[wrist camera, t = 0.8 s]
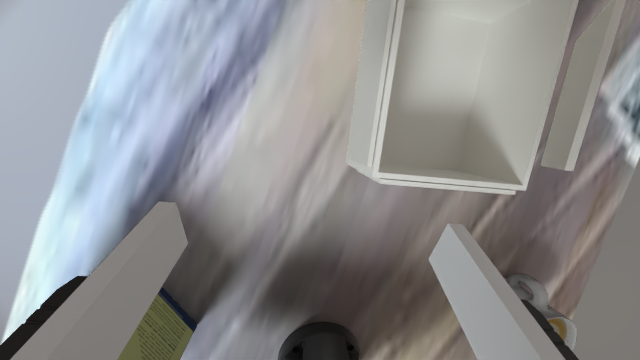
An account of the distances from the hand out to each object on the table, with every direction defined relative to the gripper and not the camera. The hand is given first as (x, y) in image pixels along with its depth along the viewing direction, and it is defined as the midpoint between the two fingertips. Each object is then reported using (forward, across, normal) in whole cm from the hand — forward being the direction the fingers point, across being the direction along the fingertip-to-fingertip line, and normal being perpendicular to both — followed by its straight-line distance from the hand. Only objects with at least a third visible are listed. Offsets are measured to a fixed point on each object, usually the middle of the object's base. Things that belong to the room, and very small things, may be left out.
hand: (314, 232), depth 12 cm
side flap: (+17, -26, -4) cm, 31 cm away
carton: (+29, -15, -2) cm, 32 cm away
